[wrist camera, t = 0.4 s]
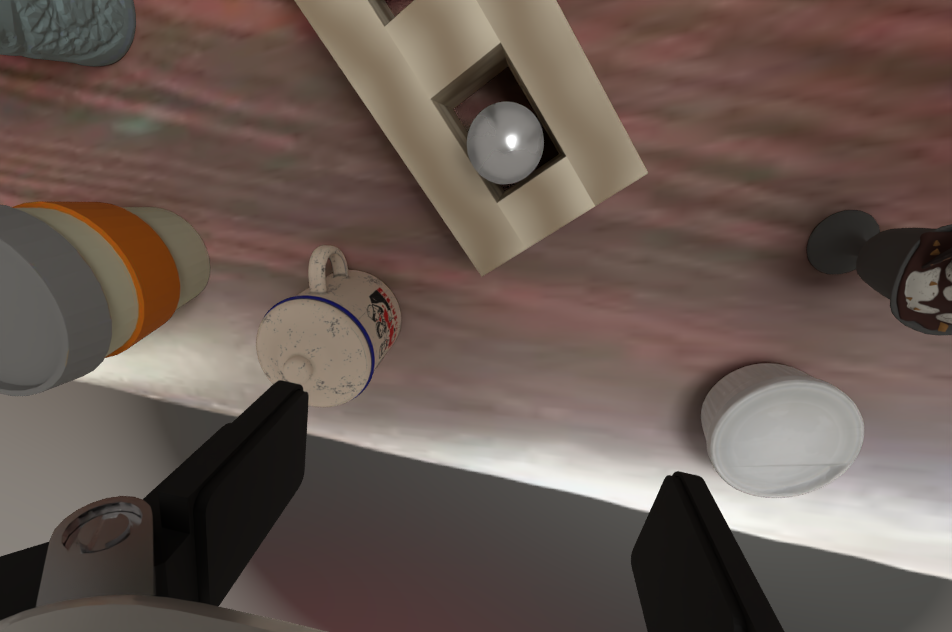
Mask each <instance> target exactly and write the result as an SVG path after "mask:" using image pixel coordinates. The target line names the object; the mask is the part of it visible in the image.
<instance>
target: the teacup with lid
mask: <svg viewBox="0 0 952 632" xmlns="http://www.w3.org/2000/svg"><path fill="white" fill-rule="evenodd" d="M328 258H329V259H330V261H331V264H332V269H333V273H332V274H330V275H328V276H325V271H326V264H327V260H328ZM308 278H309V288H307V289H306V290H304V291H303V292H301V293H299V294H298V295H296V296H295V297H291V298H287V299H285V300H283V301H281V302H279V303H277V304H276V305H274V306H273V307H272V308H271V309H270V310H269V311H268V312H267V313H266V315H265V316H264V318H263V320H262V322H261V324H260V326H259V329H258V333H257V339H256V349H257V355H258V359H259V362H260V365H261V367H262V369H263V371H264V373H265V374H266V376H267V377H268V379H269V380H270V381H271V382H272V383H273V384H274V383H276V382H277V381H278V380H283V381H287V382H292V383H296V384H300V385H302V386H303V391H305V392H308V394H309V400H308V405H309V406H315V407H332V406H337V405H341V404H344V403H346V402H348V401H350V400H352V399H354V398H356V397H357V396H358V395H360V394H361V393H362V392H363V391H364V390H365V388H366V387H367V386H368V384H369V382H370V380H371V378H372V375H373V372H374V370H375V369H376V367H377V366H378V365H379V363H380V362H381V360H382V359H383V357H384V356H385V355H386V353H387V352H388V350H389V349H390V348H391V346H392V345H393V343H394V342H395V340H396V339H397V337H398V334H399V332H400V328H401V312H400V307H399V304H398V302H397V300H396V298H395V296H394V294H393V293H392V291H391V290H390V289H389V288H388V287H387V286H386V285H385V284H384V283H383V282H382V281H381V280H379V279H378V278H376V277H375V276H373V275H371V274H368V273H366V272H362V271H358V270H348V267H347V262H346V259H345V256H344V254H343V253H342V251H341V250H340V249H339V248H337V247H335V246H332V245H322V246H319V247H317V248H316V249H315V250H314V251H313V253H312V255H311V258H310V261H309V267H308Z"/></svg>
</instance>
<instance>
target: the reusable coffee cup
mask: <svg viewBox="0 0 952 632" xmlns="http://www.w3.org/2000/svg"><path fill="white" fill-rule="evenodd" d="M209 276H210V261H209V256H208V252H207V249H206V247H205V245H204V243H203V241H202V239H201V237H200V236H199V235H198V233H197V232H196V230H195V229H194V228H193V227H192V226H191V225H190V224H189V223H188V222H187V221H185V220H184V219H183V218H181V217H180V216H178V215H176V214H175V213H173V212H171V211H168V210H165V209H162V208H155V207H118V206H115V205H112V204H108V203H101V202H28V203H23V204H20V205H17V206H14V207H9V206H6V205H0V394H4V395H10V396H29V395H33V394H37V393H41V392H44V391H46V390H49V389H51V388H54V387H57V386H59V385H62V384H64V383H67V382H69V381H72V380H74V379H77V378H80V377H82V376H84V375H86V374H88V373H90V372H91V371H93V370H95V369H96V368H97V367H98V366H99V365H100V364H101V363H102V362H103V360H104V358H107V357H111V356H115V355H118V354H119V353H121V352H123V351H125V350H127V349H128V348H130V347H131V346H133V345H134V344H136V343H137V342H138V341H140V340H141V339H143V338H144V337H146V336H147V335H149V334H150V333H151V332H153V331H154V330H156V329H157V328H159V327H160V326H162V325H163V324H165V323H166V322H167V321H168V320H169V319H170V318H171V317H172V315H173V314H174V312H175V310H176V309H178V308H179V307H181V306H182V305H184V304H185V303H187V302H188V301H190V300H191V299H193V298H194V297H196V296H197V295H198V294H199V293H201V292H202V291H203V289H204V288H205V286H206V284H207V282H208V279H209Z"/></svg>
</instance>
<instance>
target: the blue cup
mask: <svg viewBox="0 0 952 632" xmlns="http://www.w3.org/2000/svg"><path fill="white" fill-rule="evenodd" d="M135 27H136V14H135V7H134V2H133V0H0V54H1V55H11V56H19V55H21V56H24V57H28V58H34V59H45V60H54V61H63V62H71V63H76V64H79V65H85V66H105V65H109V64H112V63H115V62H117V61H118V60H120V59H121V58H122V57H123V56H124V55H125V54H126V53H127V51H128V50H129V48H130V46H131V44H132V41H133V38H134V34H135Z"/></svg>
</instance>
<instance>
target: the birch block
mask: <svg viewBox="0 0 952 632" xmlns="http://www.w3.org/2000/svg"><path fill="white" fill-rule="evenodd" d="M294 1H295V2H296V3H297V5H298V6H299V8H300V9H301V11H302V12H303V14H304V15H305V17H306V18H307V20H308V21H309V23H310V24H311V26H312V27H313V29H314V30H315V31H316V33H317V34H318V36H319V37H320V39H321V40H322V42H323V43H324V45H325V46H326V48H327V49H328V51H329V52H330V54H331V55H332V57H333V58H334V59H335V61H336V62H337V64H338V65H339V67H340V68H341V70H342V71H343V73H344V74H345V76H346V77H347V79H348V80H349V82H350V83H351V85H352V86H353V87H354V89H355V90H356V92H357V93H358V95H359V96H360V98H361V99H362V101H363V102H364V104H365V105H366V107H367V108H368V110H369V111H370V113H371V114H372V115H373V117H374V118H375V120H376V121H377V123H378V124H379V126H380V127H381V129H382V130H383V132H384V133H385V135H386V136H387V138H388V139H389V141H390V142H391V143H392V145H393V146H394V148H395V149H396V151H397V152H398V154H399V155H400V157H401V158H402V160H403V161H404V163H405V164H406V166H407V167H408V169H409V170H410V171H411V173H412V174H413V176H414V177H415V179H416V180H417V182H418V183H419V185H420V186H421V188H422V189H423V191H424V192H425V194H426V195H427V197H428V198H429V199H430V201H431V202H432V204H433V205H434V207H435V208H436V210H437V211H438V213H439V214H440V216H441V217H442V219H443V220H444V222H445V223H446V225H447V226H448V227H449V229H450V230H451V232H452V233H453V235H454V236H455V238H456V239H457V241H458V242H459V244H460V245H461V247H462V248H463V250H464V251H465V253H466V254H467V255H468V257H469V258H470V260H471V261H472V263H473V264H474V266H475V267H476V269H477V270H478V272H479V273H480V275H481V276H484V275H486V274H487V273H489V272H490V271H492V270H494V269H495V268H497V267H498V266H500V265H502V264H503V263H505V262H506V261H508V260H510V259H511V258H513V257H514V256H516V255H518V254H519V253H521V252H522V251H524V250H526V249H527V248H529V247H530V246H532V245H534V244H535V243H537V242H539V241H540V240H542V239H543V238H545V237H547V236H548V235H550V234H551V233H553V232H555V231H556V230H558V229H559V228H561V227H563V226H564V225H566V224H567V223H569V222H571V221H572V220H574V219H575V218H577V217H579V216H580V215H582V214H583V213H585V212H587V211H588V210H590V209H591V208H593V207H595V206H596V205H598V204H600V203H601V202H603V201H604V200H606V199H608V198H609V197H611V196H612V195H614V194H616V193H617V192H619V191H620V190H622V189H624V188H625V187H627V186H628V185H630V184H632V183H633V182H635V181H636V180H638V179H640V178H641V177H643V176H644V175H646V174H648V172H647V170H646V168H645V166H644V164H643V162H642V160H641V159H640V157H639V155H638V153H637V151H636V149H635V147H634V145H633V144H632V142H631V140H630V138H629V136H628V134H627V132H626V130H625V129H624V127H623V125H622V123H621V121H620V119H619V117H618V115H617V113H616V112H615V110H614V108H613V106H612V104H611V102H610V100H609V98H608V97H607V95H606V93H605V91H604V89H603V87H602V85H601V83H600V82H599V80H598V78H597V76H596V74H595V72H594V70H593V68H592V67H591V65H590V63H589V61H588V59H587V57H586V55H585V53H584V52H583V50H582V48H581V46H580V44H579V42H578V40H577V38H576V37H575V35H574V33H573V31H572V29H571V27H570V25H569V23H568V22H567V20H566V18H565V16H564V14H563V12H562V10H561V8H560V7H559V5H558V3H557V1H556V0H414V1H413V2H412V3H411V4H409V5H408V6H407V7H406V8H405V9H404V10H403V11H402V12H400V13H399V14H398V15H397V16H396V17H395V16H394V14H393V13H392V11H391V10H390V8H389V6H388V5H387V3H386V2H385V0H294ZM507 67H509V68H510V70H511V72H512V74H513V75H514V77H515V79H516V80H517V82H518V84H519V86H520V87H521V89H522V91H523V92H524V94H525V96H526V98H527V99H528V101H529V103H530V104H531V106H532V108H533V110H534V111H535V113H536V115H537V117H538V118H539V120H540V122H541V123H542V125H543V127H544V129H545V130H546V132H547V134H548V135H549V137H550V139H551V141H552V142H553V144H554V146H555V148H556V149H557V151H558V153H559V154H558V155H557V156H555V157H554V158H553V159H551V160H550V161H548V162H547V163H545V164H544V165H542V166H541V167H539V168H538V169H536V170H535V171H533V172H532V173H530V174H529V175H528V176H527V177H526V178H524V179H522V180H521V181H519V182H517V183H516V184H514V185H513V186H511V187H510V188H508V189H507V190H505V191H504V189H503V188H502V186H501V185H500V184H497V183H493V182H491V181H488V180H487V179H485V178H483V177H482V176H481V175H480V174H479V173H478V172H477V171H476V170H475V168H474V167H473V165H472V164H471V161H470V159H469V156H468V152H467V136H468V132H467V131H466V129H465V127H464V126H463V124H462V123H461V121H460V119H459V118H458V116H457V115H456V113H455V112H454V110H453V109H454V108H455V107H456V106H458V105H459V104H460V103H462V102H463V101H464V100H465V99H467V98H468V97H469V96H471V95H472V94H473V93H474V92H476V91H477V90H478V89H480V88H481V87H482V86H483V85H485V84H486V83H487V82H489V81H490V80H491V79H492V78H494V77H495V76H496V75H498V74H499V73H500V72H501V71H503V70H504V69H505V68H507Z"/></svg>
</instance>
